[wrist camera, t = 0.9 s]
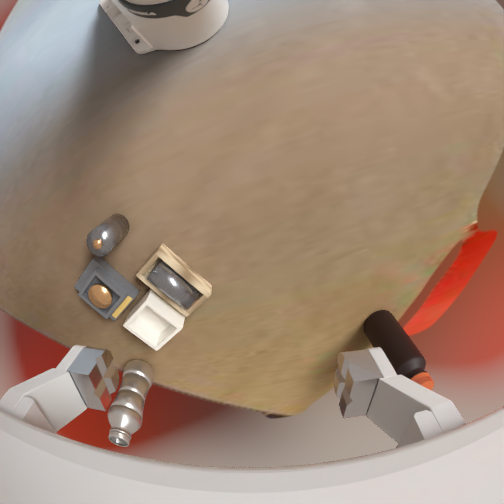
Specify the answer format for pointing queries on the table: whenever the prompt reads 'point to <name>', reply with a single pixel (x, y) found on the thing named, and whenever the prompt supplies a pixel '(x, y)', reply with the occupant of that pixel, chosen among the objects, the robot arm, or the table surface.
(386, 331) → the vinegar
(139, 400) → the plastic bottle
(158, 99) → the table surface
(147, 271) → the trough
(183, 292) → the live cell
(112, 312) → the cradle
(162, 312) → the white square box
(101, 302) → the copper disc
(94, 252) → the cylinder
